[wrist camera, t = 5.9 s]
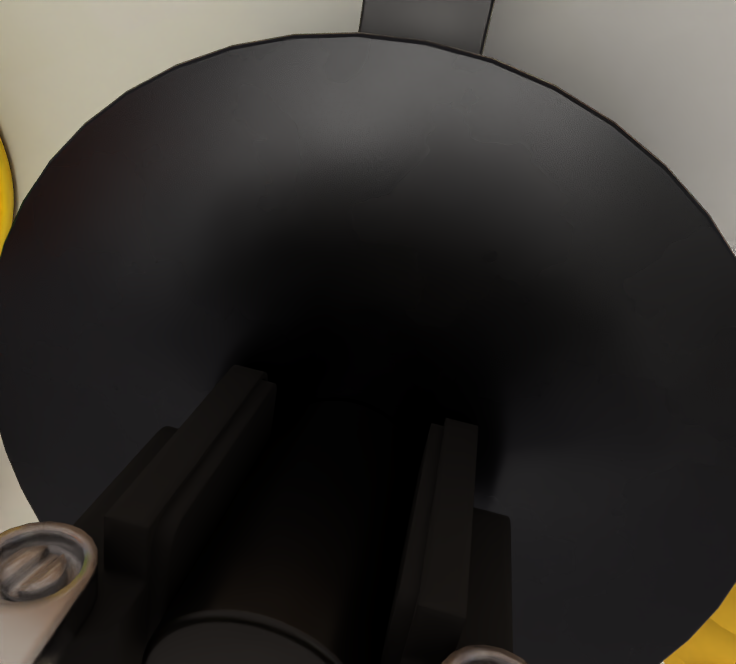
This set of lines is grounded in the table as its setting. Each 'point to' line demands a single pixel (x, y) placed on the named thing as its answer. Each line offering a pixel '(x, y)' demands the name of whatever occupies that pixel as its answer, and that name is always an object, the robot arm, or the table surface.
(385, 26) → the pan
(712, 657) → the duck
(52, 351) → the pan lid
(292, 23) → the table surface
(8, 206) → the stacking cups
